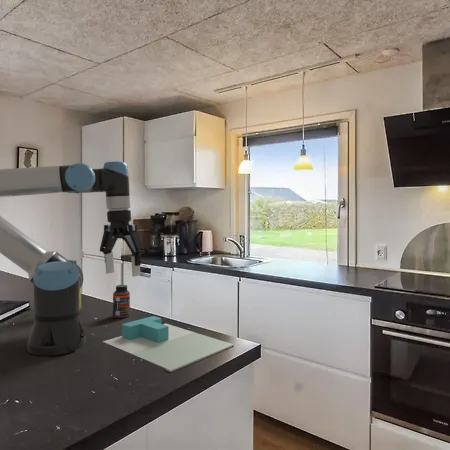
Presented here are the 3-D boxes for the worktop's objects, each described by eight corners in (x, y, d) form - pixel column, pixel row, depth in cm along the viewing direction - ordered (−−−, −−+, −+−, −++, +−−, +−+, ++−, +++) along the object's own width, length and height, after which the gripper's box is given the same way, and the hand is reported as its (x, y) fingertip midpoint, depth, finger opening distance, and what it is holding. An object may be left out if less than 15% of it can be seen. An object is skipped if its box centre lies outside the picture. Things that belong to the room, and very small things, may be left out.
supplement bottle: (119, 319, 136) (119, 287, 136) (109, 316, 140) (109, 285, 140) (133, 316, 141) (133, 285, 141) (122, 313, 145) (122, 283, 144)
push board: (170, 372, 93) (170, 370, 93) (102, 343, 112) (102, 341, 112) (233, 346, 111) (233, 344, 111) (165, 324, 131) (165, 323, 131)
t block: (146, 346, 108) (146, 332, 108) (122, 337, 116) (122, 324, 116) (178, 336, 118) (178, 323, 117) (153, 328, 125) (153, 316, 125)
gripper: (153, 208, 121) (157, 274, 122) (105, 210, 136) (109, 269, 137) (134, 209, 115) (139, 279, 116) (86, 211, 130) (90, 273, 131)
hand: (122, 274), depth 127 cm, fingers open, 13 cm apart
